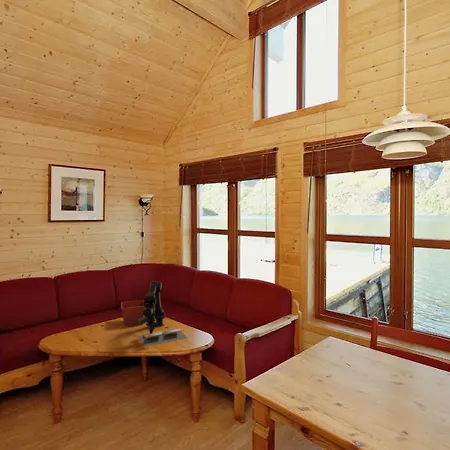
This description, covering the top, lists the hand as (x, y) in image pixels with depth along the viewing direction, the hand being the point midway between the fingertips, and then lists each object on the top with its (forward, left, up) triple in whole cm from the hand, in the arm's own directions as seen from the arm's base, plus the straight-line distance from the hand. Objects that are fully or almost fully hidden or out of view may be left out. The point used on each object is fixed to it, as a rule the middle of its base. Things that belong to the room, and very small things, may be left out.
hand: (150, 333), depth 234 cm
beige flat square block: (-3, +17, -4) cm, 18 cm away
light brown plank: (-11, +10, -6) cm, 16 cm away
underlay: (-5, +10, -6) cm, 13 cm away
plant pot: (-47, -3, -7) cm, 48 cm away
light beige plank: (-3, +3, -4) cm, 5 cm away
